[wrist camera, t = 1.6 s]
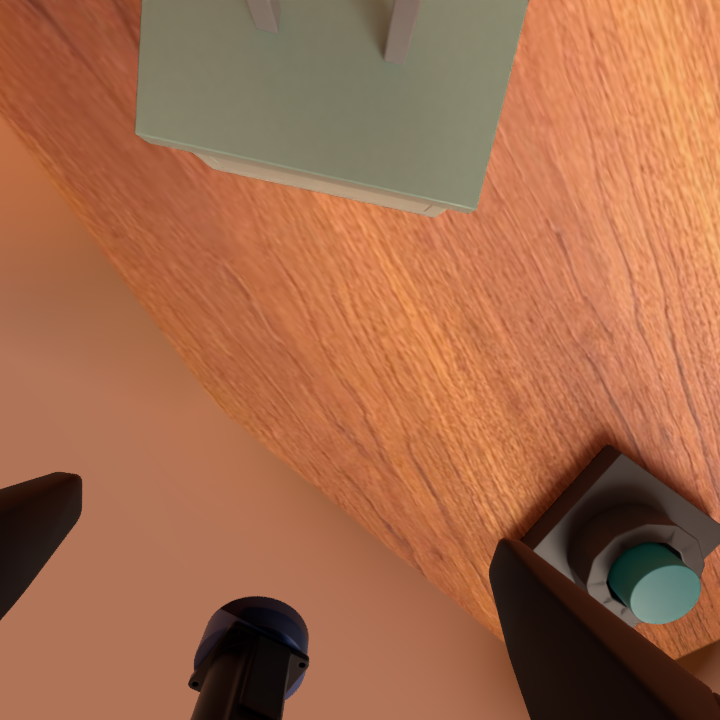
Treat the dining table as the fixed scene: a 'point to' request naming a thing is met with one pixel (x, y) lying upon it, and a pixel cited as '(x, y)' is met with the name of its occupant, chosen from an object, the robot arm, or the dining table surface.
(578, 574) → the panel
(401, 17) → the lid
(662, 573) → the button
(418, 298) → the dining table surface
